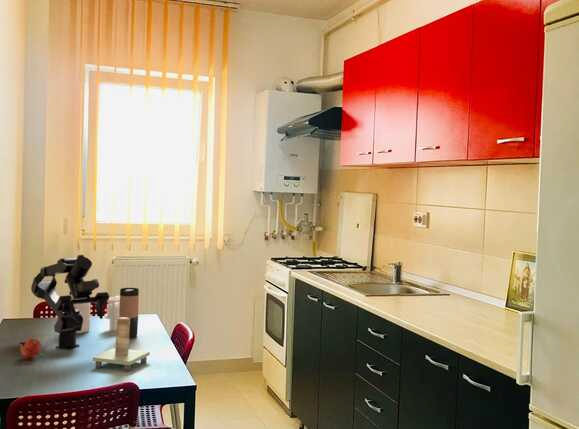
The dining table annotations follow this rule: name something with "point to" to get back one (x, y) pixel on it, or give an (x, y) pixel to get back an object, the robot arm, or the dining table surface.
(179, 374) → the dining table surface
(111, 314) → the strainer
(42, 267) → the robot arm
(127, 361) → the peg shelf
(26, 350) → the pomegranate
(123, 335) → the post
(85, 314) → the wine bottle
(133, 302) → the travel mug
